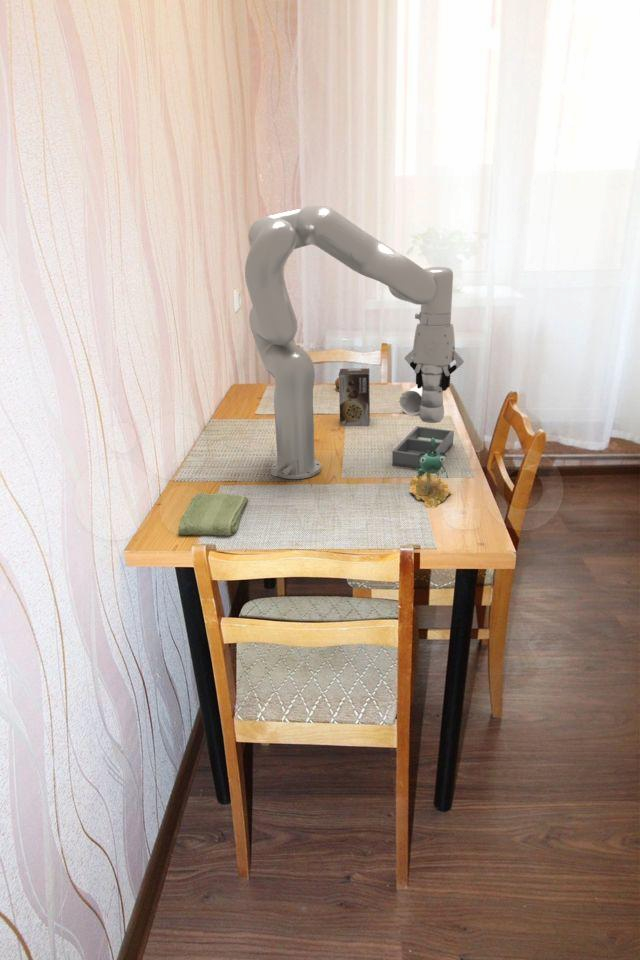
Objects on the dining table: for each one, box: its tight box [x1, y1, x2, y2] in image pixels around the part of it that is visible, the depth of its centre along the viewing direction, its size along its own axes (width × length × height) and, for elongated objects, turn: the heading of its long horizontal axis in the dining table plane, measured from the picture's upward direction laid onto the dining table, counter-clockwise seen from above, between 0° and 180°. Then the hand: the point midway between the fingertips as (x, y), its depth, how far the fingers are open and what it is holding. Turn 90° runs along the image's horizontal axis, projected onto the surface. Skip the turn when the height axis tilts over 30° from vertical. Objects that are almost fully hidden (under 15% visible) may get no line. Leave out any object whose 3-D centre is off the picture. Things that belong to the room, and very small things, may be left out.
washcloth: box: [177, 492, 249, 537], centre depth 143 cm, size 13×18×3 cm
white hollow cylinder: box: [398, 384, 423, 416], centre depth 208 cm, size 8×19×8 cm, turn 149°
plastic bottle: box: [418, 365, 445, 424], centre depth 170 cm, size 6×7×20 cm
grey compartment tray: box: [391, 425, 455, 471], centre depth 172 cm, size 20×11×4 cm, turn 155°
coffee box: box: [338, 368, 371, 427], centre depth 194 cm, size 9×6×16 cm
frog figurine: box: [409, 438, 452, 509], centre depth 150 cm, size 10×18×15 cm, turn 173°
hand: (432, 387), depth 170 cm, fingers closed on plastic bottle, 6 cm apart
